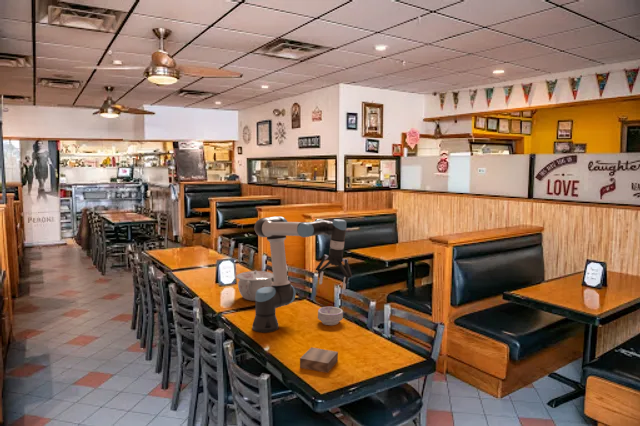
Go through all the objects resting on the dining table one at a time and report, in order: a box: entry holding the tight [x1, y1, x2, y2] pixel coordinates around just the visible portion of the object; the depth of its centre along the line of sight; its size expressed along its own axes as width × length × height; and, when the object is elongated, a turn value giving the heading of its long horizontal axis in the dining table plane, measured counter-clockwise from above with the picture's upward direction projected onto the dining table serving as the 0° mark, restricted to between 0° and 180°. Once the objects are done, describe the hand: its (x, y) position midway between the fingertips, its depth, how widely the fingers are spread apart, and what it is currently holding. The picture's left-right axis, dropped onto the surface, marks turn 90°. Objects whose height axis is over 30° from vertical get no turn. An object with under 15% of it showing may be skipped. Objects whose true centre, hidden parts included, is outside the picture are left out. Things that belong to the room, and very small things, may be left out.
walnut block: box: [299, 347, 339, 374], centre depth 218 cm, size 14×14×5 cm
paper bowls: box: [317, 306, 344, 326], centre depth 276 cm, size 15×15×8 cm
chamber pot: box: [235, 269, 274, 302], centre depth 325 cm, size 28×28×21 cm
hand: (332, 286), depth 246 cm, fingers open, 13 cm apart
